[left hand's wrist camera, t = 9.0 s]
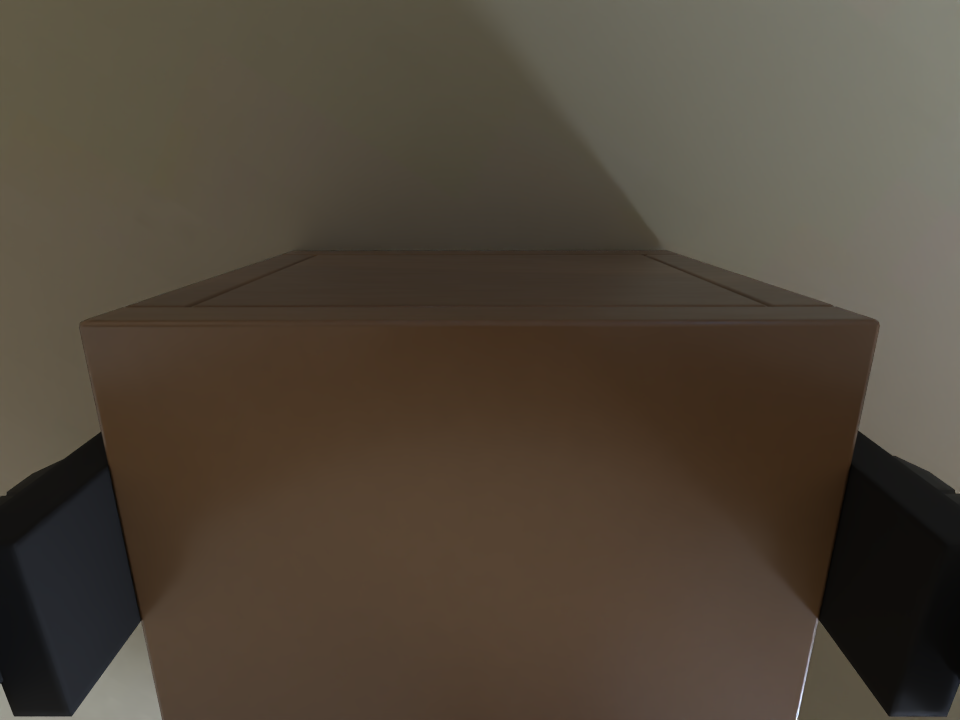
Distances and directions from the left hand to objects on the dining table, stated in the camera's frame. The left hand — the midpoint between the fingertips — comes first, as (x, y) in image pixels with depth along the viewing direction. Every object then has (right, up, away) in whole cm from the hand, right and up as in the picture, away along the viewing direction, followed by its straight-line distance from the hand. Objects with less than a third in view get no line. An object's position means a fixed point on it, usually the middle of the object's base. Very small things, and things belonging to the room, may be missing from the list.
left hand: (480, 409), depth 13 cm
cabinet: (0, -4, +6) cm, 7 cm away
